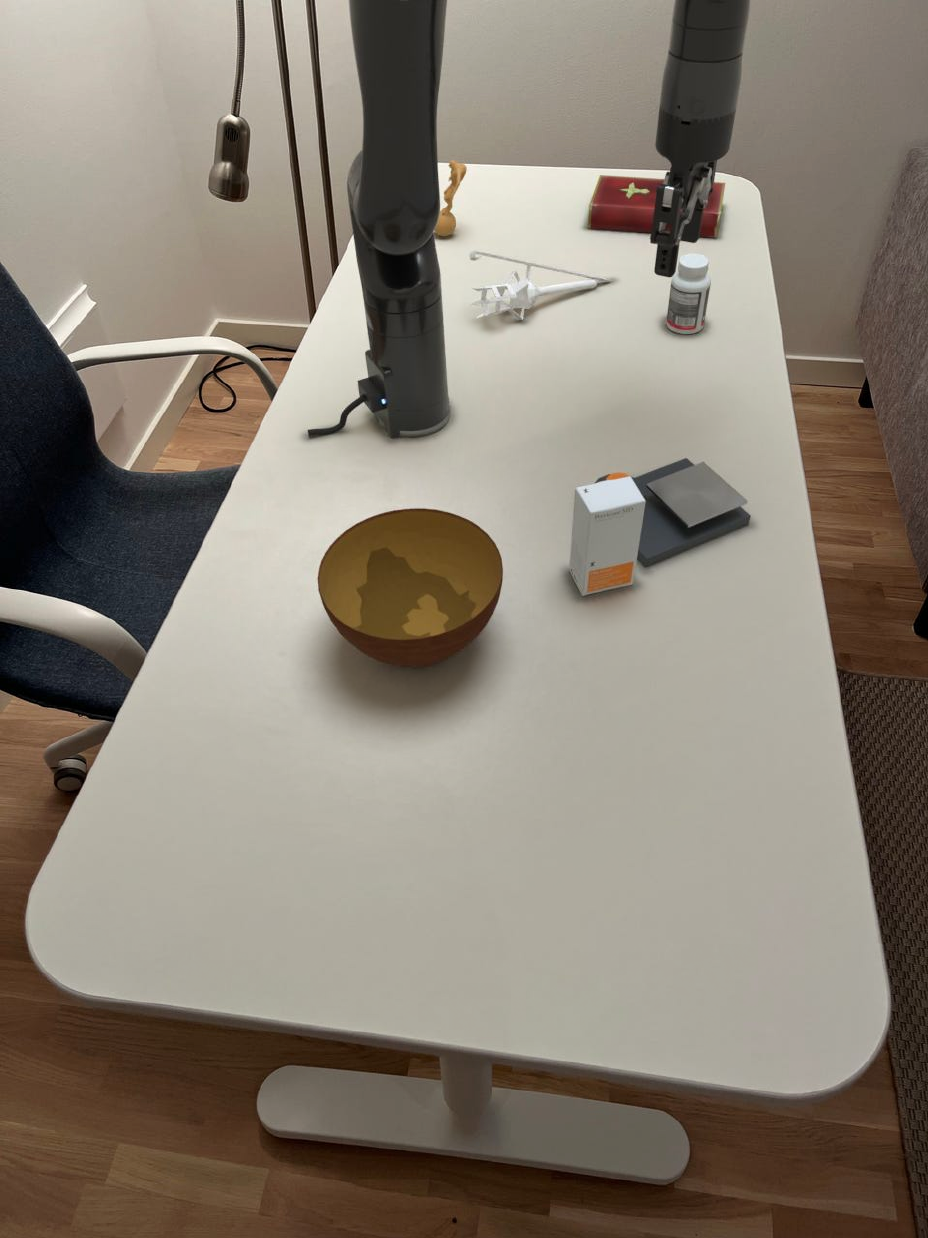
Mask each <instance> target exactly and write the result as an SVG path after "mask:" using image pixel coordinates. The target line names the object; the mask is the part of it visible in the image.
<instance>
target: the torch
mask: <svg viewBox="0 0 928 1238" xmlns="http://www.w3.org/2000/svg"><path fill="white" fill-rule="evenodd" d="M476 255H479V256H477V257H476ZM482 256H484V257H488V258H493V259H498V260H503V261H508V262H512V263H517V264H522V265H526V272H525V278H523V279H520V276H519V273H518V271H517V270H514V271H511V273H510V275H509V276H508V278H507V279H506V281H505V282H504V284H494V285H487V286H483V285H482V286H481V285H480V287H479V288H478V287H471V289H473V290H474V291H476V292H481V297H480V300H476V301H473V302H471V303H468V305H469V306H480V305H481V306H482V308H483V311H484V313H483V312H482V313H480V314H479V315H478V316H477V317H476V319H480V318H482V317H484V318H486V317H488V316H493V315H498V314H501V313H504V312H508V313H511V315H512V316H513V317H514V318H515V319H517V320H518V321H522V320H524V316H525V309H532V307H533V306H534V305H535V303H536V302H537V300H538V299H539V297H545V296H551V295H557V294H558V295H559V294H563V293H564V294H565V293H570V292H577V291H582V290H583V291H584V290H588V289H595V288H596V287H597V285H598V281H601V282H612V280H611V279H609V278H605V277H601V276H596V275H592V274H588V273H582V272H578V271H573V270H568V269H564V268H559V267H554V266H549V265H546V264H540V263H537V262H531V261H526V260H522V259H517V258H512V257H508V256H503V255H499V254H493V253H490V252H485V251H480V250H477V249H476V250H473V251H470V252H469V260H470V261H473V262H475V261H478V260H481V259H482V258H483V257H482ZM532 267H535V268H539V269H545V270H549V271H555V272H559V273H564V274H568V275H573V276H577V277H582V278H587V279H585V280H578V281H572V282H565V283H559V284H558V283H557V284H553V285H547V286H546V285H545V286H539V287H538V286H537V285H535V283H533V282H532V281H531V271H532ZM514 277H515V280H517V282H515V283H513V284H510V283H511V282H512V279H513V278H514ZM488 290H491V291H492V293H493V295H494V297H490V298H487V295H488V293H487V292H488ZM505 291H508V293H509V294H506V295H504V293H505ZM506 300H510V303H509V306H508V305H507V304H506V302H505V301H506ZM493 303H495V307H494V311H491V310H490V308H489V306H488V304H493ZM516 308H517V309H521V311H520V315H519V314H518V313H517V312H516V311H515V310H514V309H516Z"/></svg>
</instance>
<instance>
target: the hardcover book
mask: <svg viewBox="0 0 928 1238" xmlns="http://www.w3.org/2000/svg"><path fill="white" fill-rule="evenodd" d="M664 179H665V178H653V177H640V176H639V177H636V176H623V175H604V174H600V175H599V176H598V180H597V182H596V186H595V188H594V191H593V193H592V196H591V200H590V202H589V204H588V216H587V217H588V218H587V229H590V230H604V231H616V232H629V233H644V234H645V233H646V234H651V231H652V224H653V216H654V209H655V201H656V194H657V192H656V190H657V187H658V186H659V184H663V182H664ZM713 188H714V190H713V193H712V194H711V196H708V203H707V205H706V207H705V208H702V209H704V211H703V217H702V224H701V230H700V237H699V238H713V239H718V235H719V234H718V233H719V230H720V229H719V228H720V223H721V215H722V209H723V203H724V198H725V197H724V195H725V190H726V182H718V181H714V186H713ZM682 211H683V210H682V209H681V211H680V212H682ZM670 229H671V225H670V224H668V223H666V227H665V230H664V231H669V232H670Z"/></svg>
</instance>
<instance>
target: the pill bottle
mask: <svg viewBox="0 0 928 1238" xmlns="http://www.w3.org/2000/svg"><path fill="white" fill-rule="evenodd" d="M678 259H679V260H678V263H677V264H678V265H677V271H676V272H675V274H674V275H673V276H672V277H671V281H670V290H669V297H668V305H667V311H666V312H667V313H666V320H665V321H666V323H665V324H666V326H667V328H668V329H669V330H670V331H672V332H673V333H677V334H681V335H692V334H696V333H698V332H700V331H701V330H702V329H703V328H704V327H705V321H706V315H707V310H708V309H707V308H708V304H709V303H708V302H709V296H710V290H711V285H712V279H711V276H710V275H709V273H708V270H709V264H710V263H709V262H710V261H709V259H708V258H707V256H705V255H703V254H699V253H688V254H684V255H682V256H680V258H678Z"/></svg>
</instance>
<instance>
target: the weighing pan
mask: <svg viewBox="0 0 928 1238" xmlns="http://www.w3.org/2000/svg"><path fill="white" fill-rule="evenodd" d="M646 487H647V488H648V489H649V490H650V491H651V492H652V493H653V494H654V495H655V496H656V497H657V498H658V499H659V500H660V501H661V502H662V503H663V504H664V505H665V506H666V507H667V508H668V509H669V510H670V511H671V512H672V513H673V514H675V515H676V516H677V517H678V518H679V519H680V520H681V521H682V522H683V523H684V524H685V525H686V526H687V527H688V528H689V527H691V526H694V525H696V524H698V523H701V522H703V521H706V520H708V519H711V518H713V517H716V516H718V515H720V514H723V513H725V512H728V511H730V510H733V509H735V508H737V507H740V506H741V507H742V506H744V505H747V504H748V503H749V502H748V500H747V499H746V498H745V497H744V496H743V495H742V494H741V493H740V492H738V491H737V490H736V489H735V488H734V487H732V486H731V485H730V484H729V482H727V481H726V480H725V479H724V478H723V477H722V476H720V475H719V474H718V473H717V472H716V471H715V470H714V469H712V467H710V466H709V465H708V464H707V463H706V462H704V461H702V462H698V463H696V464H694V466H691V467H689V468H686V469H683V470H681V471H678V472H676V473H673V474H671V475H668V476H665V477H663V478H660V479H658V480H655V481H653V482H650V483H647V484H646Z"/></svg>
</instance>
